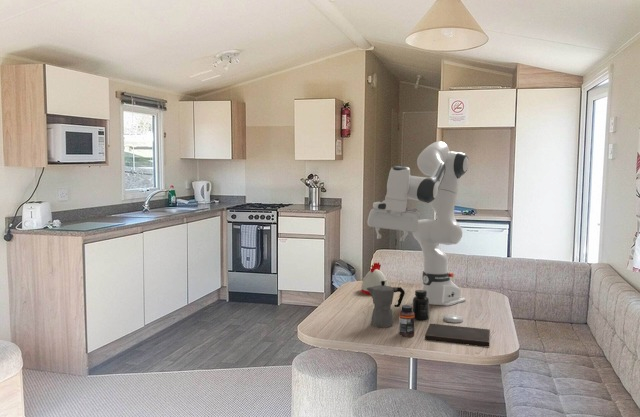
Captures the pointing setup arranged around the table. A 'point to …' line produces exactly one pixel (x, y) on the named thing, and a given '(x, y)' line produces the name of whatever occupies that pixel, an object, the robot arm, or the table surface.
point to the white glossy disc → (453, 318)
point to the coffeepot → (384, 304)
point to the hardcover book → (458, 334)
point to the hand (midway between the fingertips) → (390, 240)
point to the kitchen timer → (373, 278)
